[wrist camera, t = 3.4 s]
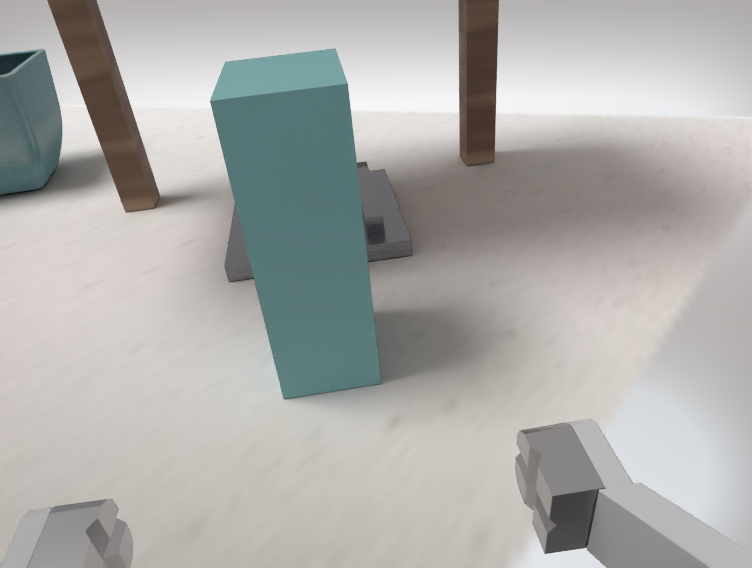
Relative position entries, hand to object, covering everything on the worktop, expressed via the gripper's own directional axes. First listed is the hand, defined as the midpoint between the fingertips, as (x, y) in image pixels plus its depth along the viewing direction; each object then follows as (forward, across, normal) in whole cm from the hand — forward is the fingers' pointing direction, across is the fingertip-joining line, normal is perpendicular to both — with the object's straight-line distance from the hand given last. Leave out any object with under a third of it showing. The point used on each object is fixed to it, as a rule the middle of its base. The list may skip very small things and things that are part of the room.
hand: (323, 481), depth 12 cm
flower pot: (+39, +23, +7) cm, 46 cm away
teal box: (+12, 0, +7) cm, 14 cm away
